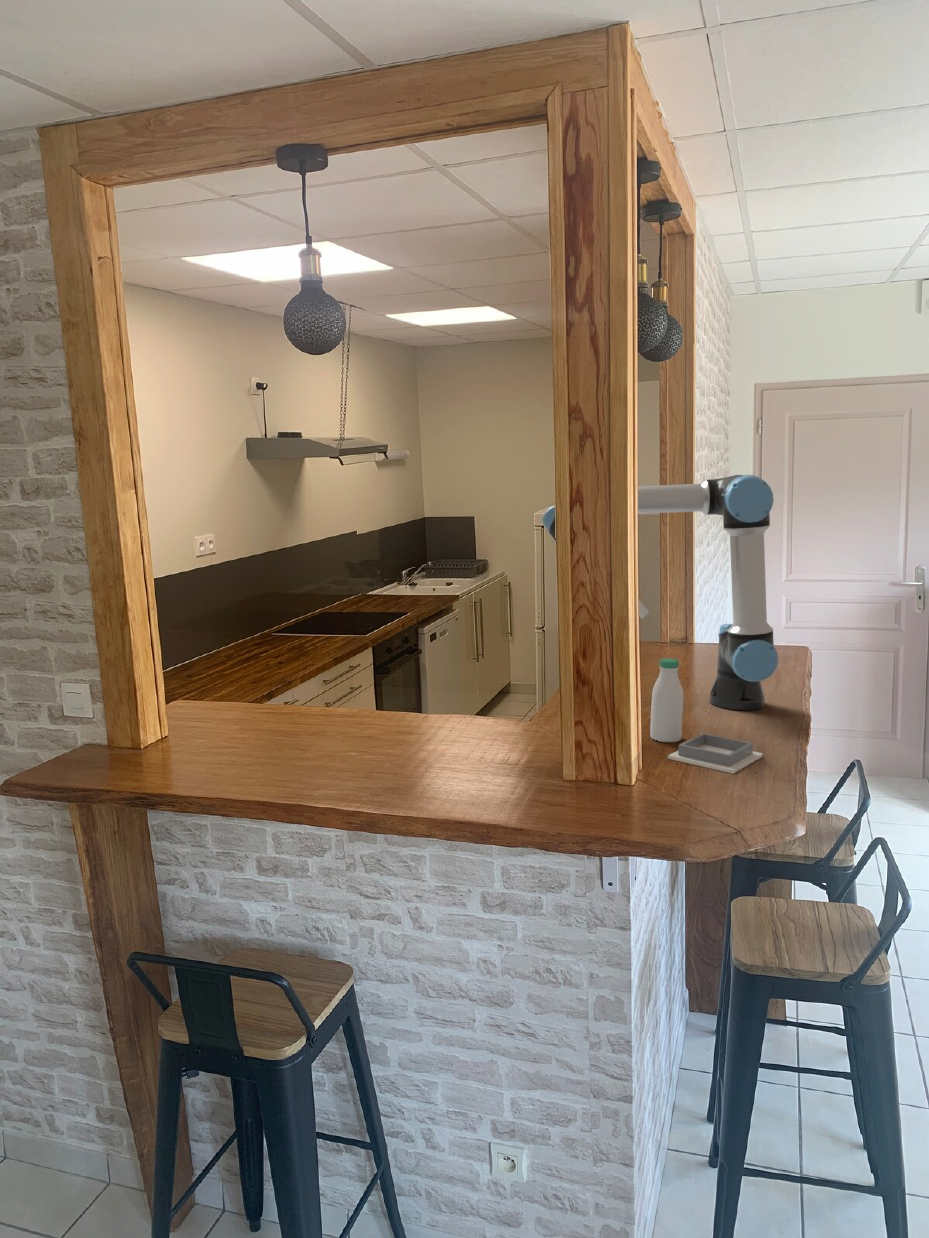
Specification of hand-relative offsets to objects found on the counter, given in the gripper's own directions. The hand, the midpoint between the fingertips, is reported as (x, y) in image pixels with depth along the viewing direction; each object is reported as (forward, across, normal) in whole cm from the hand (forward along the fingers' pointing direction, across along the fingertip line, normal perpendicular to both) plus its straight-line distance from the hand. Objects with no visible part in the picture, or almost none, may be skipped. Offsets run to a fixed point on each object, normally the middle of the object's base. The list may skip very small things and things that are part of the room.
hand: (631, 618), depth 237 cm
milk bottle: (+29, +3, -11) cm, 31 cm away
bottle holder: (+40, +9, 0) cm, 41 cm away
